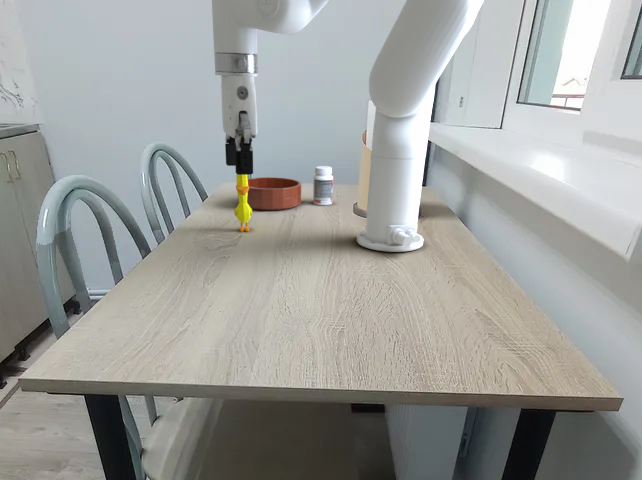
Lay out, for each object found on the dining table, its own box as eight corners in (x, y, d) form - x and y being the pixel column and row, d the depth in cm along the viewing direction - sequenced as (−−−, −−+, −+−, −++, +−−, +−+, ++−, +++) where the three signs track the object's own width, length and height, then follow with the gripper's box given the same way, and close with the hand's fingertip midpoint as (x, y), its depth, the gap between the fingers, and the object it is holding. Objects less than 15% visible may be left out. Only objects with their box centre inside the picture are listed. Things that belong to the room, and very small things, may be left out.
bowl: (308, 209, 124) (309, 187, 122) (245, 213, 120) (244, 190, 118) (290, 196, 137) (290, 176, 134) (232, 199, 133) (231, 178, 130)
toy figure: (253, 234, 105) (251, 170, 99) (235, 235, 105) (232, 170, 98) (252, 226, 111) (250, 164, 105) (235, 226, 110) (231, 165, 104)
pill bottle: (335, 204, 129) (337, 168, 125) (317, 206, 128) (318, 169, 123) (327, 200, 133) (328, 165, 129) (310, 202, 131) (310, 166, 127)
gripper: (269, 68, 87) (269, 177, 96) (246, 66, 101) (248, 162, 110) (223, 66, 85) (228, 178, 94) (207, 64, 99) (212, 162, 108)
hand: (239, 169), depth 102 cm, fingers open, 9 cm apart
